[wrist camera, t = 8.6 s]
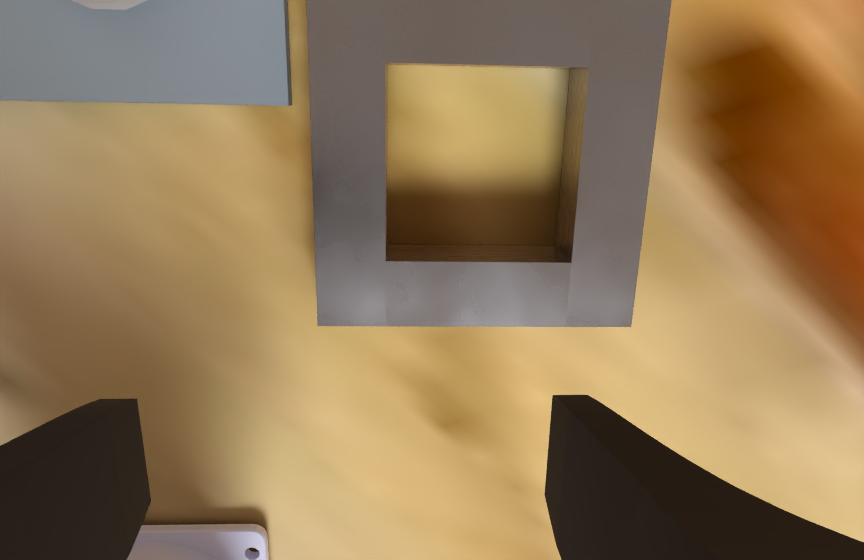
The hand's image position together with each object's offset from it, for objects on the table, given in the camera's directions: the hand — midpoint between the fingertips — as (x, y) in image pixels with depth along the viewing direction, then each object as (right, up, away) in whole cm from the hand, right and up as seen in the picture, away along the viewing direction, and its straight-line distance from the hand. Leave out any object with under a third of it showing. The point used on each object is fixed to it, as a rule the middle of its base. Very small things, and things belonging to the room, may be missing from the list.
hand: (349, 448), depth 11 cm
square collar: (+3, +7, +8) cm, 11 cm away
